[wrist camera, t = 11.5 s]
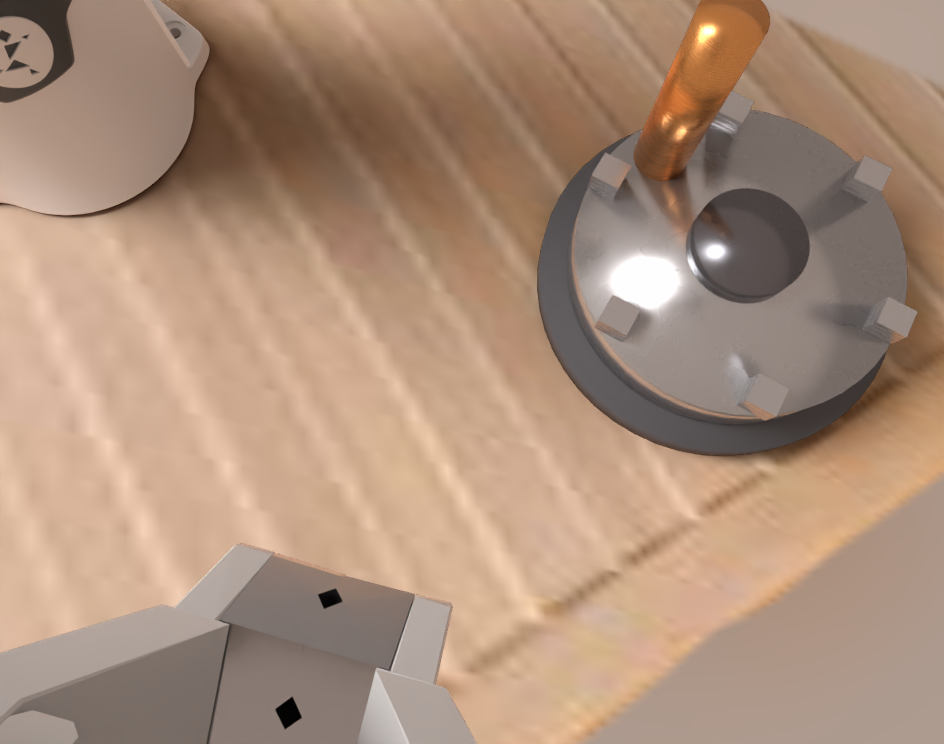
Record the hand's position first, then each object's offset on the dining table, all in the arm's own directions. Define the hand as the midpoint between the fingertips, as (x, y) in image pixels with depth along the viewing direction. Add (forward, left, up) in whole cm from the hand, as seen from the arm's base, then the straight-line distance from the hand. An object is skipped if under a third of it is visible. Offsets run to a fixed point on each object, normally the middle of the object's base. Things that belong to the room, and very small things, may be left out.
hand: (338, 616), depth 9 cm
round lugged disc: (-2, +23, -25) cm, 34 cm away
